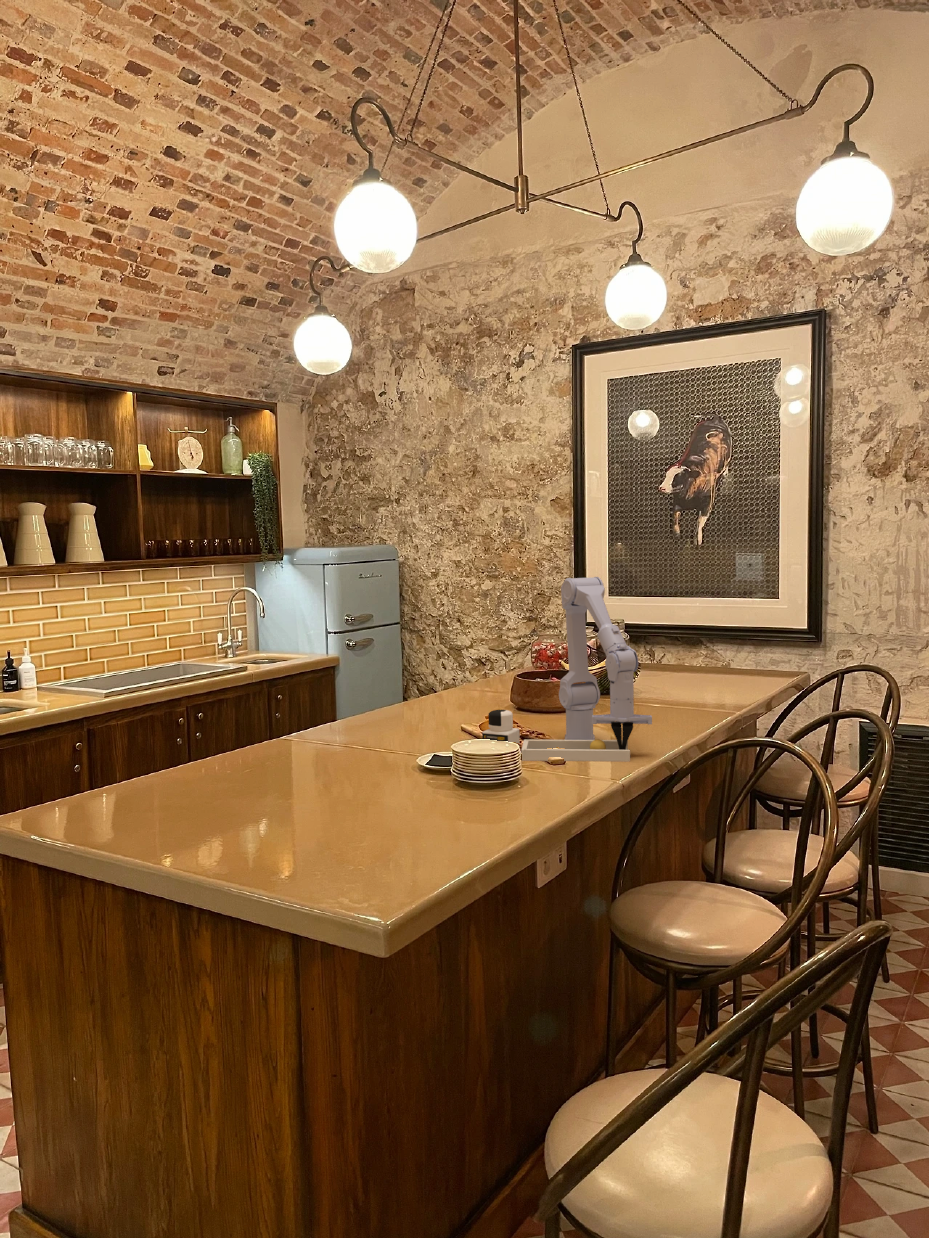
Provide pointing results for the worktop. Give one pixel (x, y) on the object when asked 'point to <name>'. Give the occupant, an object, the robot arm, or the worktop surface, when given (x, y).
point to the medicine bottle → (501, 727)
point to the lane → (573, 751)
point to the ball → (598, 745)
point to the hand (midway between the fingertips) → (622, 752)
